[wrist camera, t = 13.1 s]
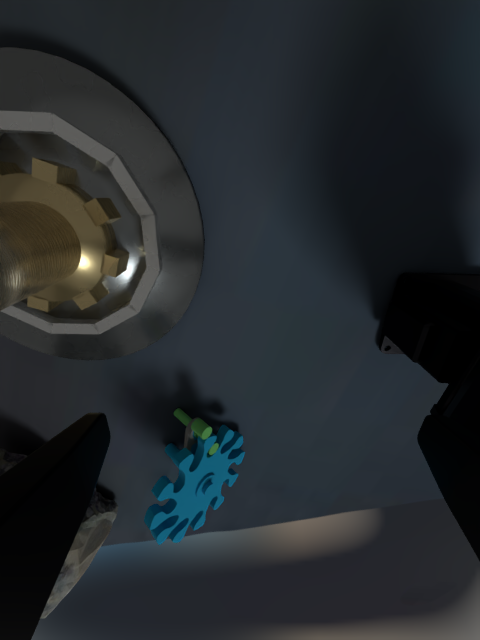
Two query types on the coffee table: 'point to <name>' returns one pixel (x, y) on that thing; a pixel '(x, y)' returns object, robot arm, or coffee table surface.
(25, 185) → the brass toothed-base goblet
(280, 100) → the coffee table surface
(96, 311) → the carrier plate
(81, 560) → the mineral rock
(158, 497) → the blue piece
